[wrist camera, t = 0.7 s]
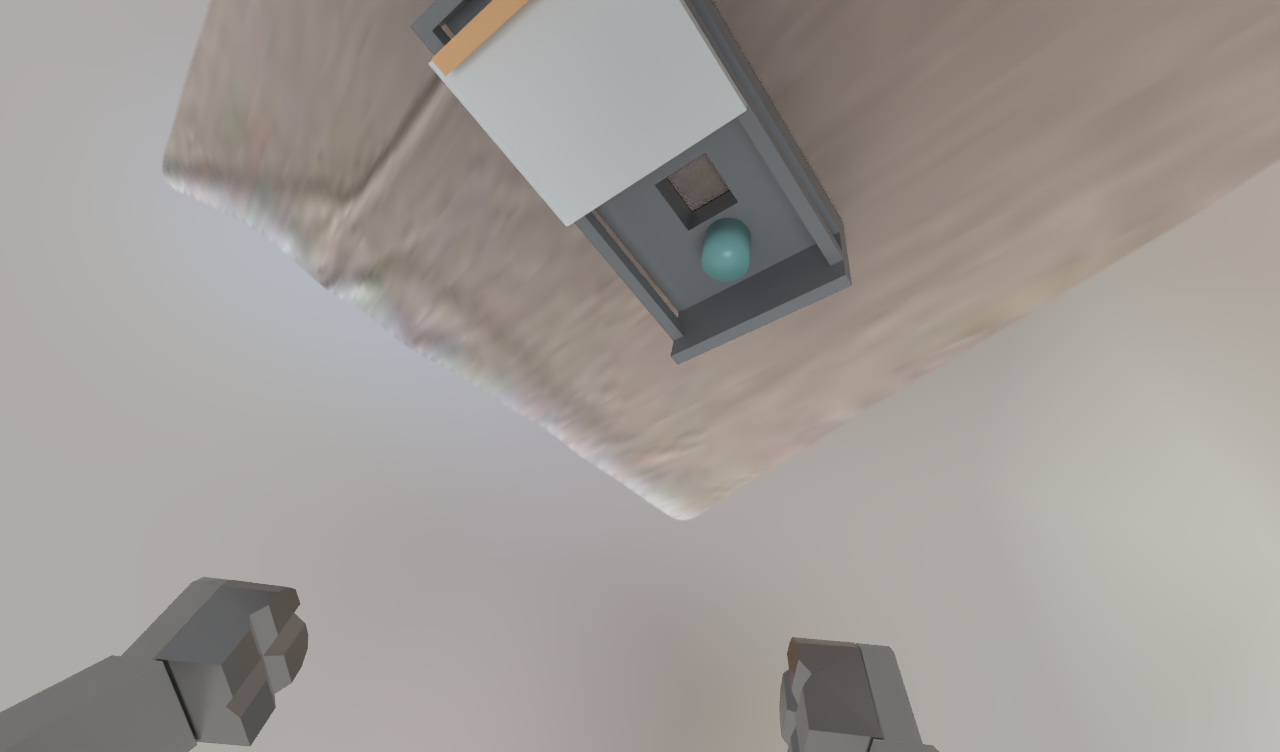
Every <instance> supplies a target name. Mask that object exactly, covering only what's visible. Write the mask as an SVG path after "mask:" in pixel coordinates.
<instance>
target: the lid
mask: <svg viewBox="0 0 1280 752" xmlns="http://www.w3.org/2000/svg"><path fill="white" fill-rule="evenodd" d="M428 64H429V65H430V67H431V68H432V69H433V70H434V71H435V72H436V74H437V75H438V76H439V77H440V78H441V79H442V81H443V82H444V83H445V84H446V85H447V87H448V88H449V89H450V90H451V91H452V92H453V94H454V95H455V96H456V97H457V98H458V100H459V101H460V102H461V103H462V104H463V105H464V107H465V108H466V109H467V110H468V111H469V112H470V114H471V115H472V116H473V117H474V118H475V120H476V121H477V122H478V123H479V124H480V125H481V127H482V128H483V129H484V130H485V131H486V133H487V134H488V135H489V136H490V137H491V138H492V140H493V141H494V142H495V143H496V144H497V145H498V147H499V148H500V149H501V150H502V151H503V153H504V154H505V155H506V156H507V157H508V158H509V160H510V161H511V162H512V163H513V164H514V166H515V167H516V168H517V169H518V170H519V171H520V173H521V174H522V175H523V176H524V177H525V178H526V180H527V181H528V182H529V183H530V184H531V186H532V187H533V188H534V189H535V190H536V191H537V193H538V194H539V195H540V196H541V197H542V198H543V200H544V201H545V202H546V203H547V204H548V206H549V207H550V208H551V209H552V210H553V211H554V213H555V214H556V215H557V216H558V217H559V219H560V220H561V221H562V222H563V223H564V224H565V226H566V227H568V226H569V225H571V224H572V223H574V222H575V221H577V220H578V219H580V218H581V217H583V216H585V215H586V214H588V213H589V212H591V211H592V210H594V209H595V208H597V207H598V206H600V205H602V204H603V203H605V202H606V201H608V200H609V199H611V198H612V197H614V196H615V195H617V194H619V193H620V192H622V191H623V190H625V189H626V188H628V187H629V186H631V185H632V184H634V183H635V182H637V181H639V180H640V179H642V178H643V177H645V176H646V175H648V174H649V173H651V172H652V171H654V170H656V169H657V168H659V167H660V166H662V165H663V164H665V163H666V162H668V161H669V160H671V159H673V158H674V157H676V156H677V155H679V154H680V153H682V152H683V151H685V150H686V149H688V148H689V147H691V146H693V145H694V144H696V143H697V142H699V141H700V140H702V139H703V138H705V137H706V136H708V135H710V134H711V133H713V132H714V131H716V130H717V129H719V128H720V127H722V126H723V125H725V124H727V123H728V122H730V121H731V120H733V119H734V118H736V117H737V116H739V115H740V114H742V113H744V112H745V111H747V103H746V101H745V100H744V98H743V96H742V95H741V93H740V91H739V90H738V88H737V86H736V85H735V83H734V82H733V80H732V78H731V77H730V75H729V73H728V72H727V70H726V68H725V67H724V65H723V64H722V62H721V60H720V59H719V57H718V55H717V54H716V52H715V51H714V49H713V47H712V46H711V44H710V42H709V41H708V39H707V37H706V36H705V34H704V33H703V31H702V29H701V28H700V26H699V24H698V23H697V21H696V19H695V18H694V16H693V15H692V13H691V11H690V10H689V8H688V6H687V5H686V3H685V1H684V0H492V1H491V2H490V3H489V4H488V5H487V6H486V7H485V8H484V9H483V10H482V11H481V12H480V13H479V14H478V15H477V16H476V17H475V18H473V19H472V20H471V21H470V22H469V23H468V24H467V25H466V26H465V27H464V28H463V29H462V30H461V31H460V32H459V33H458V34H457V35H456V36H455V37H453V38H452V39H451V40H450V41H449V42H448V43H447V44H446V45H445V46H444V47H443V48H442V49H441V50H440V51H439V52H438V53H437V54H436V55H435V56H433V57H432V58H431V61H430V62H429V63H428Z"/></svg>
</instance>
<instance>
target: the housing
mask: <svg viewBox="0 0 1280 752" xmlns="http://www.w3.org/2000/svg"><path fill="white" fill-rule="evenodd" d="M491 1H492V0H436V1H435V2H434V3H433V4H432V5H431V6H430V7H429V8H428V9H427V10H426V11H425V12H424V13H423V14H422V15H421V16H420V17H419V18H418V19H417V20H416V21H415V22H414V23H413V24H412V25H411V26H410V27H411V28H412V29H413V31H414V32H415V33H416V34H417V35H418V36H419V38H420V39H421V40H422V41H423V42H424V44H425V45H426V46H427V47H428V48H429V50H430V51H431V52H432V53H433V54H434V56H435V55H436V54H437V53H438V52H439V51H440V50H441V49H442V48H443V47H444V46H445V45H446V44H447V43H448V42H449V41H450V40H451V39H450V38H449V37H448V36H447V35H446V33H445V32H444V31H443V30H442V28H441V26H443V25H444V24H446V25H447V26H448V28H449V29H450V30H451V31H452V33H453V34H454V35H455V36H456V35H457V34H458V33H459V32H460V31H461V30H462V29H463V28H464V27H465V26H466V25H467V24H468V23H469V22H470V21H471V20H472V19H473V18H475V17H476V16H477V15H478V14H479V13H480V12H481V11H482V10H483V9H484V8H485V7H486V6H487V5H488V4H489V3H490V2H491ZM684 1H685V3H686V5H687V6H688V8H689V10H690V11H691V13H692V15H693V16H694V18H695V19H696V21H697V23H698V24H699V26H700V28H701V29H702V31H703V33H704V34H705V36H706V37H707V39H708V41H709V42H710V44H711V46H712V47H713V49H714V51H715V52H716V54H717V55H718V57H719V59H720V60H721V62H722V64H723V65H724V67H725V68H726V70H727V72H728V73H729V75H730V77H731V78H732V80H733V82H734V83H735V85H736V86H737V88H738V90H739V91H740V93H741V95H742V96H743V98H744V100H745V101H746V103H747V111H745V112H744V113H742V114H740V115H739V116H737V117H736V118H734V119H733V120H731V121H730V122H728V123H727V124H725V125H723V126H722V127H720V128H719V129H717V130H716V131H714V132H713V133H711V134H710V135H708V136H706V137H705V138H703V139H702V140H700V141H699V142H697V143H696V144H694V145H693V146H691V147H689V148H688V149H686V150H685V151H683V152H682V153H680V154H679V155H677V156H676V157H674V158H673V159H671V160H669V161H668V162H666V163H665V164H663V165H662V166H660V167H659V168H657V169H656V170H654V171H652V172H651V173H649V174H648V175H646V176H645V177H643V178H642V179H640V180H639V181H637V182H635V183H634V184H632V185H631V186H629V187H628V188H626V189H625V190H623V191H622V192H620V193H619V194H617V195H615V196H614V197H612V198H611V199H609V200H608V201H606V202H605V203H603V204H602V205H600V206H598V207H597V208H595V209H596V211H597V212H598V213H599V214H600V216H601V217H602V218H603V219H604V220H605V222H606V223H607V224H608V225H609V227H610V228H611V229H612V230H613V232H614V233H615V234H616V235H617V237H618V238H619V239H620V240H621V242H622V243H623V244H624V245H625V246H626V248H627V249H628V250H629V251H630V253H631V254H632V255H633V256H634V258H635V259H636V260H637V261H638V263H639V264H640V265H641V266H642V267H643V269H644V270H645V271H646V272H647V274H648V275H649V276H650V277H651V279H652V280H653V281H654V282H655V284H656V285H657V286H658V287H659V288H660V290H661V291H662V292H663V293H664V295H665V296H666V297H667V298H668V300H669V301H670V302H671V303H672V305H673V306H674V307H675V308H676V310H677V311H678V312H679V315H678V318H677V317H676V316H675V314H674V313H673V312H672V311H671V310H670V308H669V307H668V306H667V305H666V303H665V302H664V301H663V300H662V299H661V297H660V296H659V295H658V294H657V292H656V291H655V290H654V289H653V287H652V286H651V285H650V284H649V283H648V281H647V280H646V279H645V278H644V276H643V275H642V274H641V273H640V272H639V270H638V269H637V268H636V267H635V265H634V264H633V263H632V262H631V260H630V259H629V258H628V257H627V256H626V254H625V253H624V252H623V251H622V249H621V248H620V247H619V246H618V244H617V243H616V242H615V241H614V240H613V238H612V237H611V236H610V235H609V233H608V232H607V231H606V230H605V229H604V227H603V226H602V225H601V224H600V222H599V221H598V220H597V219H596V217H595V216H594V215H593V214H592V213H591V212H589V213H588V214H586V215H585V216H583V217H581V218H580V219H578V220H577V221H575V222H574V223H575V224H576V225H577V226H578V227H579V229H580V230H581V231H582V232H583V233H584V235H585V236H586V237H587V238H588V239H589V241H590V242H591V243H592V244H593V245H594V247H595V248H596V249H597V250H598V251H599V252H600V254H601V255H602V256H603V257H604V258H605V260H606V261H607V262H608V263H609V264H610V266H611V267H612V268H613V269H614V270H615V272H616V273H617V274H618V275H619V276H620V278H621V279H622V280H623V281H624V282H625V284H626V285H627V286H628V287H629V288H630V289H631V291H632V292H633V293H634V294H635V295H636V297H637V298H638V299H639V300H640V301H641V303H642V304H643V305H644V306H645V307H646V309H647V310H648V311H649V312H650V313H651V315H652V316H653V317H654V318H655V319H656V321H657V322H658V323H659V324H660V325H661V326H662V328H663V329H664V330H665V331H666V332H667V334H668V335H669V336H670V337H671V338H672V340H673V341H674V342H673V347H672V352H671V357H672V358H673V360H674V361H675V362H676V363H677V364H680V363H682V362H684V361H687V360H689V359H691V358H693V357H695V356H698V355H700V354H702V353H704V352H706V351H709V350H711V349H713V348H715V347H717V346H720V345H722V344H724V343H726V342H728V341H731V340H733V339H735V338H737V337H739V336H741V335H744V334H746V333H748V332H750V331H752V330H755V329H757V328H759V327H761V326H763V325H766V324H768V323H770V322H772V321H774V320H777V319H779V318H781V317H783V316H785V315H787V314H790V313H792V312H794V311H796V310H798V309H801V308H803V307H805V306H807V305H809V304H812V303H814V302H816V301H818V300H820V299H823V298H825V297H827V296H829V295H831V294H834V293H836V292H838V291H840V290H842V289H844V288H847V287H849V286H851V285H852V283H851V276H850V269H849V262H848V255H847V248H846V241H845V234H844V227H843V222H842V220H841V219H840V217H839V215H838V214H837V212H836V210H835V208H834V207H833V205H832V203H831V202H830V200H829V198H828V197H827V195H826V193H825V192H824V190H823V188H822V186H821V185H820V183H819V181H818V180H817V178H816V176H815V175H814V173H813V171H812V170H811V168H810V166H809V164H808V163H807V161H806V159H805V158H804V156H803V154H802V153H801V151H800V149H799V148H798V146H797V144H796V142H795V141H794V139H793V137H792V136H791V134H790V132H789V131H788V129H787V127H786V125H785V124H784V122H783V120H782V119H781V117H780V115H779V114H778V112H777V110H776V109H775V107H774V105H773V103H772V102H771V100H770V98H769V97H768V95H767V93H766V92H765V90H764V88H763V87H762V85H761V83H760V81H759V80H758V78H757V76H756V75H755V73H754V71H753V70H752V68H751V66H750V65H749V63H748V61H747V59H746V58H745V56H744V54H743V53H742V51H741V49H740V48H739V46H738V44H737V42H736V41H735V39H734V37H733V36H732V34H731V32H730V31H729V29H728V27H727V26H726V24H725V22H724V20H723V19H722V17H721V15H720V14H719V12H718V10H717V9H716V7H715V5H714V4H713V2H712V0H684ZM704 153H706V155H707V156H708V158H709V159H710V161H711V162H712V164H713V165H714V167H715V168H716V170H717V171H718V173H719V174H720V176H721V177H722V179H723V180H724V182H725V183H726V185H727V186H728V188H729V189H730V191H728V192H727V193H725V194H723V195H721V196H720V197H718V198H716V199H715V200H713V201H711V202H710V203H708V204H706V205H704V206H703V207H701V208H699V209H698V210H696V211H694V212H693V213H692V212H691V211H690V209H689V208H688V207H687V205H686V204H685V202H684V201H683V200H682V198H681V197H680V195H679V194H678V193H677V191H676V190H675V189H674V187H673V186H672V184H671V183H670V182H669V180H668V179H667V177H668V176H670V175H671V174H673V173H674V172H676V171H678V170H679V169H681V168H682V167H684V166H685V165H687V164H689V163H690V162H692V161H693V160H695V159H696V158H698V157H700V156H701V155H703V154H704Z"/></svg>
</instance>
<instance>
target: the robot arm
mask: <svg viewBox="0 0 1280 752" xmlns="http://www.w3.org/2000/svg"><path fill="white" fill-rule="evenodd" d="M299 605H300V602H299V599H298V596H297V592H296V590H295V589H293V588H289V587H282V586H274V585H267V584H259V583H251V582H244V581H236V580H225V579H216V578H207V577H202V578H200V579H198V580H196V581H194V582H192V583H191V584H190V585H189V586H188V587H187V588H186V589H185V590H184V591H183V592H182V593H181V594H180V595H179V596H178V597H177V599H175V600H174V601H173V603H172V604H171V605H170V606H169V607H168V608H167V609H166V610H165V611H164V612H163V613H162V614H161V615H160V616H159V617H158V618H157V619H156V620H155V621H154V622H153V623H152V624H151V625H150V626H149V628H148V629H147V630H146V631H145V632H144V633H143V634H142V635H141V636H140V637H139V638H138V639H137V640H136V641H135V642H134V643H133V644H132V645H131V646H130V647H129V648H128V649H127V650H126V651H125V652H124V653H123V655H122V656H110V657H108V658H106V659H104V660H102V661H100V662H98V663H96V664H94V665H92V666H90V667H88V668H86V669H84V670H82V671H80V672H78V673H77V674H75V675H73V676H71V677H69V678H67V679H65V680H63V681H61V682H59V683H57V684H55V685H53V686H51V687H49V688H47V689H45V690H43V691H41V692H39V693H37V694H35V695H33V696H32V697H30V698H28V699H26V700H24V701H22V702H20V703H18V704H16V705H14V706H12V707H10V708H8V709H6V710H4V711H2V712H0V752H189V751H190V750H191V749H192V748H194V747H195V746H196V745H197V743H196V742H207V743H219V744H230V745H242V746H251V744H252V743H253V741H254V740H255V738H256V737H257V735H258V734H259V732H260V730H261V729H262V727H263V726H264V725H265V723H266V722H267V720H268V718H269V717H270V715H271V714H272V712H273V711H274V709H275V696H274V694H275V693H277V692H278V691H280V690H281V689H283V688H285V687H286V686H287V685H289V684H291V683H292V681H293V680H294V678H295V677H296V675H297V673H298V672H299V670H300V668H301V667H302V664H303V661H304V658H305V655H306V652H307V649H308V632H307V628H306V624H305V623H304V622H303V621H302V620H301V619H300V618H299V617H298V616H297V615H296V614H295V613H294V612H295V610H296V609H297V608H298V606H299ZM787 656H788V665H789V670H787V671H786V672H785V673H783V677H782V683H781V690H780V725H781V734H782V738H783V739H784V741H785V742H786V743H787V744H788V746H789V747H788V752H939V751H938V750H937V749H936V748H935V747H934V746H932V745H925V744H922V741H921V737H920V734H919V731H918V728H917V724H916V721H915V718H914V715H913V712H912V708H911V705H910V702H909V699H908V696H907V693H906V689H905V686H904V683H903V680H902V677H901V673H900V670H899V667H898V664H897V661H896V657H895V654H894V652H893V651H892V649H891V648H890V647H889V646H878V645H869V644H858V643H857V644H855V643H851V642H840V641H829V640H817V639H806V638H795V637H793V638H792V639H791V641H790V643H789V648H788V653H787Z"/></svg>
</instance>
